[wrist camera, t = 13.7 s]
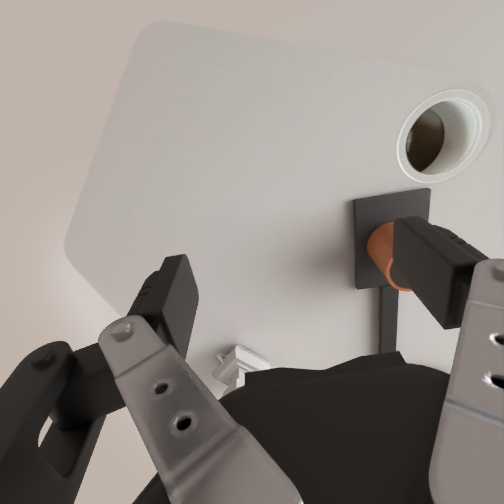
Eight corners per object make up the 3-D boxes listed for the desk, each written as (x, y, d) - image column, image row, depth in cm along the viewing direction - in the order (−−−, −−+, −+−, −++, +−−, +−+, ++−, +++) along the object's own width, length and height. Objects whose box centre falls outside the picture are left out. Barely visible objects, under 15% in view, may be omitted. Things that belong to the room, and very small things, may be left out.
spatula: (353, 199, 38) (356, 202, 37) (427, 187, 38) (433, 190, 37) (357, 371, 52) (360, 377, 50) (412, 364, 51) (416, 371, 50)
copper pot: (366, 225, 39) (387, 247, 33) (417, 217, 39) (446, 239, 33) (366, 267, 42) (385, 295, 36) (413, 260, 41) (440, 287, 36)
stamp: (207, 357, 50) (199, 403, 43) (229, 331, 48) (225, 375, 40) (252, 380, 53) (252, 427, 45) (276, 356, 50) (280, 402, 43)
